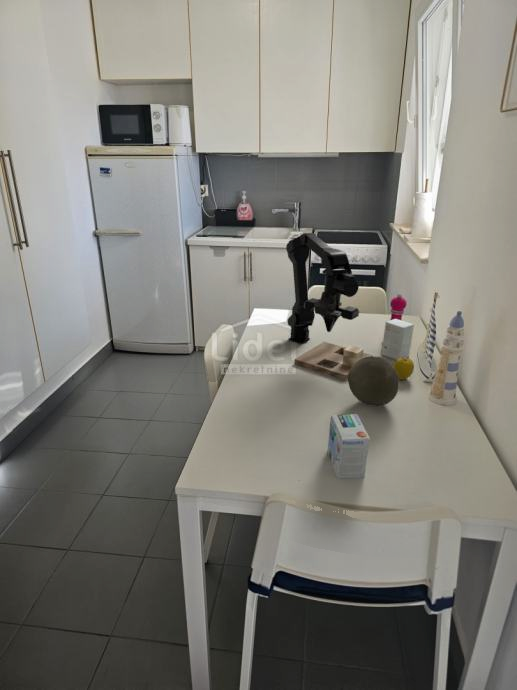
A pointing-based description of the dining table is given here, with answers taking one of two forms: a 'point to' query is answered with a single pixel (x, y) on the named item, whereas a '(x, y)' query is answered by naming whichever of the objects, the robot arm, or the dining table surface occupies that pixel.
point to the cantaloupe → (373, 381)
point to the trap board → (326, 360)
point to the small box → (397, 339)
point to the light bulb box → (348, 446)
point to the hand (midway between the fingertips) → (328, 331)
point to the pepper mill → (397, 307)
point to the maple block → (352, 355)
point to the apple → (404, 367)
